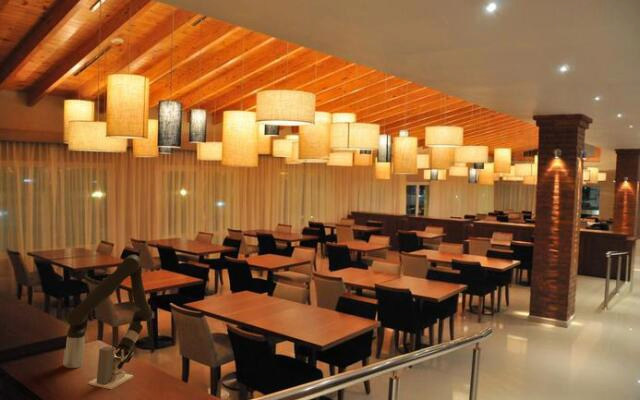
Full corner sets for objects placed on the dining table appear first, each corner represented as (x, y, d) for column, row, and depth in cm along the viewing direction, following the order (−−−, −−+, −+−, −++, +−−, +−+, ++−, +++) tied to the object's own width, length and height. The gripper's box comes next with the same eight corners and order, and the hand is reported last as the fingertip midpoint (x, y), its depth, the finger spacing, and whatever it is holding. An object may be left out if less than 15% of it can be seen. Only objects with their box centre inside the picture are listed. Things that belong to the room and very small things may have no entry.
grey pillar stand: (88, 384, 254) (91, 347, 254) (111, 372, 272) (114, 338, 272) (111, 389, 251) (114, 352, 250) (133, 377, 268) (136, 343, 268)
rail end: (108, 377, 262) (110, 359, 262) (113, 375, 266) (114, 357, 266) (114, 379, 261) (116, 360, 261) (119, 376, 265) (121, 358, 265)
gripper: (115, 334, 272) (98, 361, 261) (137, 338, 268) (121, 366, 257) (120, 341, 277) (104, 368, 266) (142, 345, 273) (127, 373, 262)
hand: (112, 367), depth 262 cm, fingers open, 6 cm apart
